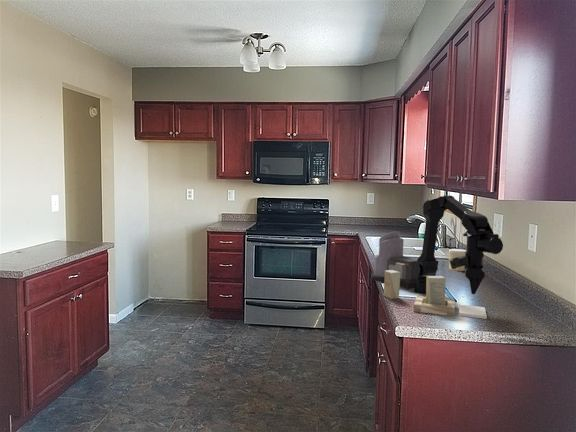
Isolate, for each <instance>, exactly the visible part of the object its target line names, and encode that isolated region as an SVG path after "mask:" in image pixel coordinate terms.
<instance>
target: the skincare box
mask: <svg viewBox="0 0 576 432" xmlns="http://www.w3.org/2000/svg"><path fill="white" fill-rule="evenodd" d="M425 297H426V304H434V305H444V306H445V299H446V277H444V276H443V275H435V276H426V293H425Z"/></svg>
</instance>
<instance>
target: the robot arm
mask: <svg viewBox="0 0 576 432" xmlns="http://www.w3.org/2000/svg"><path fill="white" fill-rule="evenodd" d="M447 210H448V211H449V212H450V213H452V214H453V215H454V216H455V217H456V218H458V219H459V220H460V221H461V226H463V227H464V229H465V230H466V231H465V232H463V234H462V236H463V237H466V249H465V250H466V252H465V256H460V257H456V258H453V259H450V260H449V259H448V263H449V262H450V265H451V267H452V269H456V268H457V267H461V266H464V269H465V270H464V277H465V278H467V279H468V280H469V286H470V291H471V295H475V294H476V292H477V291H478V289H479V287H480V285H481V284H482V282H483V279H485V277H486V275H485V274H486V271H485V270H484V255H485V254H484V253H487V254H492V255H497V254H500V253H501V252H502V251H503V249H504V243H503V241H502V239H501V238H500V237H499V234H497V233H494V230H493V228H492V227H491V224H490V223H489V221H488V217H487V216H485V215H484V214H481V213H480V212H475V211H472V210H470V209H469V208H468V207H467V206H465V205H464V204H462V202H460V201H458V200H457V199H456V198H455V197H454V196H452V195H441V196H439V197H437V198H434V199H430V200H425V202H423V206H422V214H423V217H424V220H425V226H424V236H423V241H422V242H423V244H422V252H421V254H420V255H419V257H418V258H416V259H417V263H416V266H415V267H414V269H413V270H412V271H411V276H412V277H414V278H416V288H415V289H413V290H414V291H413V292H414V293H420V294H426V276H437V271H438V270H439V269H438V267H439V266H438V265H439V262H440V261H438V260H437V259H436V256H435V251H436V245H437V244H436V243H437V237H438V236H437V235H438V229H439V223H440V221H441V220H442V218H444V215H445V211H447Z"/></svg>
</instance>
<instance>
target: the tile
mask: <svg viewBox="0 0 576 432" xmlns="http://www.w3.org/2000/svg"><path fill="white" fill-rule="evenodd" d="M458 316H459V317H467V318H477V319H485V320H486V319H487V317H488V316H487V312H486V308H485V306H484V307H483V306H477V305H476V306H474V305H467V304H458Z"/></svg>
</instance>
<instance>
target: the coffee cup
mask: <svg viewBox="0 0 576 432" xmlns="http://www.w3.org/2000/svg"><path fill="white" fill-rule="evenodd" d="M465 252H466V249H462V248H461V249H460V248H449V250H448V269H449V270H451V271H457V272H459V271H460V272H463V271H464V272H465V269H464V266H461V267H457V268H456V269H452V267H451V265H450V262H449V260H450V259H453V258H456V257H460V256H465Z"/></svg>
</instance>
